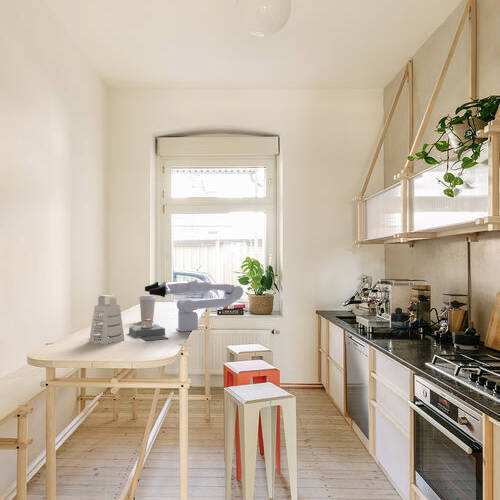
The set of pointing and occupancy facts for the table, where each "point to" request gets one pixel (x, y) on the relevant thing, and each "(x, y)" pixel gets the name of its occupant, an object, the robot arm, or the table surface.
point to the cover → (146, 323)
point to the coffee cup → (147, 306)
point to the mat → (154, 337)
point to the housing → (146, 331)
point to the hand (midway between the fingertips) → (147, 290)
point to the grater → (107, 322)
